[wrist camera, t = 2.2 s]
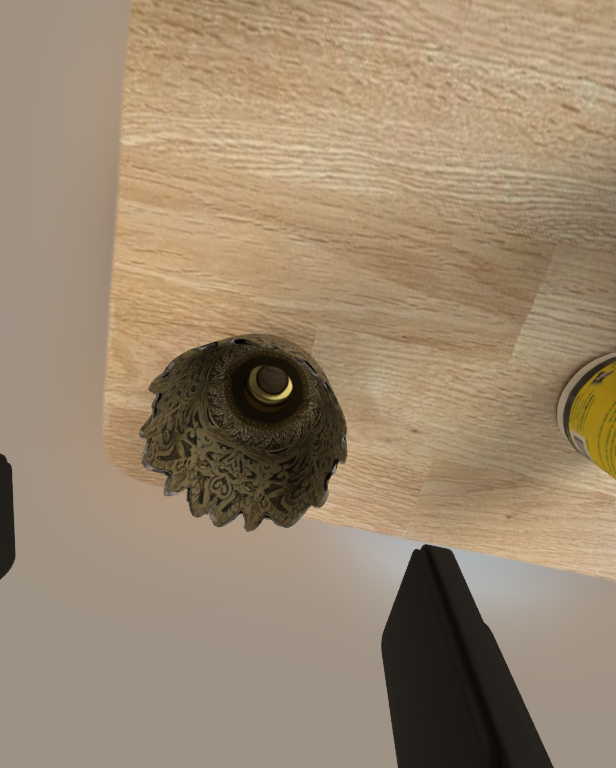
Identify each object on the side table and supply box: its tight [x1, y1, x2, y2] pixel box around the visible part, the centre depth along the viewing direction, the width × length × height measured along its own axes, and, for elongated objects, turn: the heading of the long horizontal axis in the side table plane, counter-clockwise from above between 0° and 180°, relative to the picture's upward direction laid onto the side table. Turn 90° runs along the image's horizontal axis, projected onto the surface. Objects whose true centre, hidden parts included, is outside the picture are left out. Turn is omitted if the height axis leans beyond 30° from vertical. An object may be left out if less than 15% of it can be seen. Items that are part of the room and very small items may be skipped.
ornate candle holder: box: [140, 334, 347, 532], centre depth 17 cm, size 8×7×8 cm
